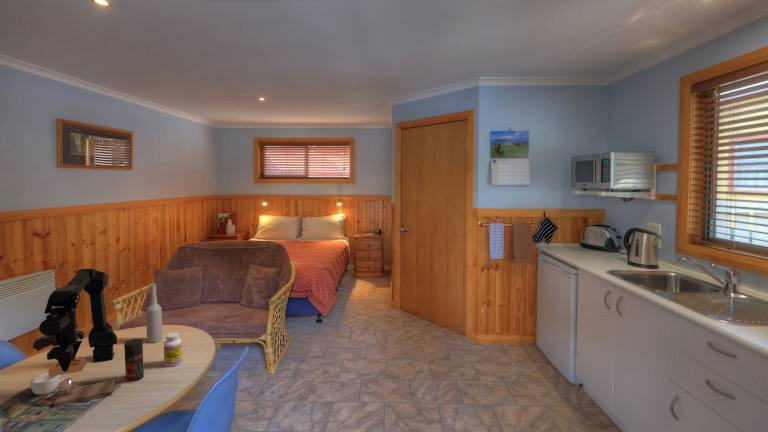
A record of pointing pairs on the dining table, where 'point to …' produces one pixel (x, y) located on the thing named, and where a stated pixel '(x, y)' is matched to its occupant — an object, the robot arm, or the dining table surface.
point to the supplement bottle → (172, 350)
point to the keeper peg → (68, 386)
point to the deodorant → (134, 360)
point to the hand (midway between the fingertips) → (67, 367)
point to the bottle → (154, 318)
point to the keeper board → (86, 393)
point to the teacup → (45, 383)
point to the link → (74, 366)
